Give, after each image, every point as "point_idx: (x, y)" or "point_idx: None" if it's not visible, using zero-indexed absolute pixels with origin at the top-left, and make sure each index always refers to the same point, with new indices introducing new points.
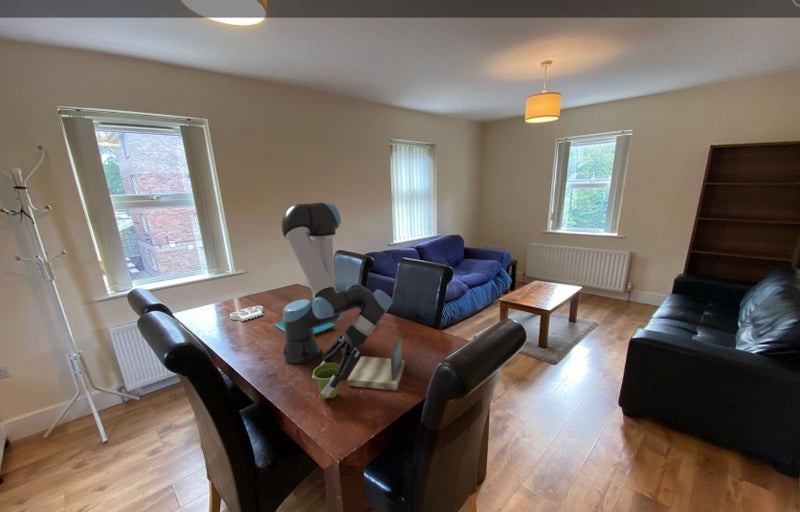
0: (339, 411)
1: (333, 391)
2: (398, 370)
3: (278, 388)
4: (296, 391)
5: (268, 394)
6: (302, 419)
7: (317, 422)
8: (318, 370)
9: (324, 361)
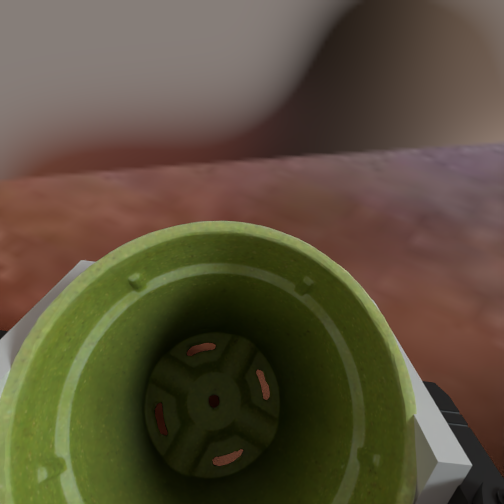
0: None
1: (125, 401)
2: None
3: (476, 203)
4: (399, 260)
5: (449, 154)
6: (151, 190)
7: (64, 233)
8: (359, 346)
9: (461, 481)
